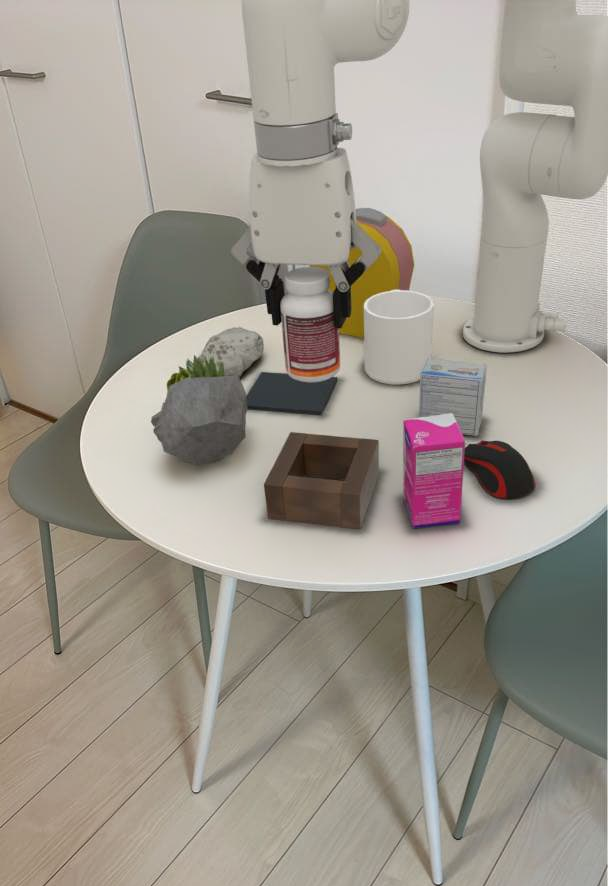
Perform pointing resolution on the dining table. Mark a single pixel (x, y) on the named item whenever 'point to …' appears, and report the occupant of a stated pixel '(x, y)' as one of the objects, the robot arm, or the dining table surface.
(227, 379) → the potted plant
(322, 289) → the pill bottle
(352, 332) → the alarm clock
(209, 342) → the decorative stone
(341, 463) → the holder
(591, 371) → the dining table surface
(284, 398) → the mat
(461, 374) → the medicine box
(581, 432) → the dining table surface
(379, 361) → the mug
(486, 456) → the computer mouse
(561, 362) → the dining table surface
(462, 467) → the supplement box
